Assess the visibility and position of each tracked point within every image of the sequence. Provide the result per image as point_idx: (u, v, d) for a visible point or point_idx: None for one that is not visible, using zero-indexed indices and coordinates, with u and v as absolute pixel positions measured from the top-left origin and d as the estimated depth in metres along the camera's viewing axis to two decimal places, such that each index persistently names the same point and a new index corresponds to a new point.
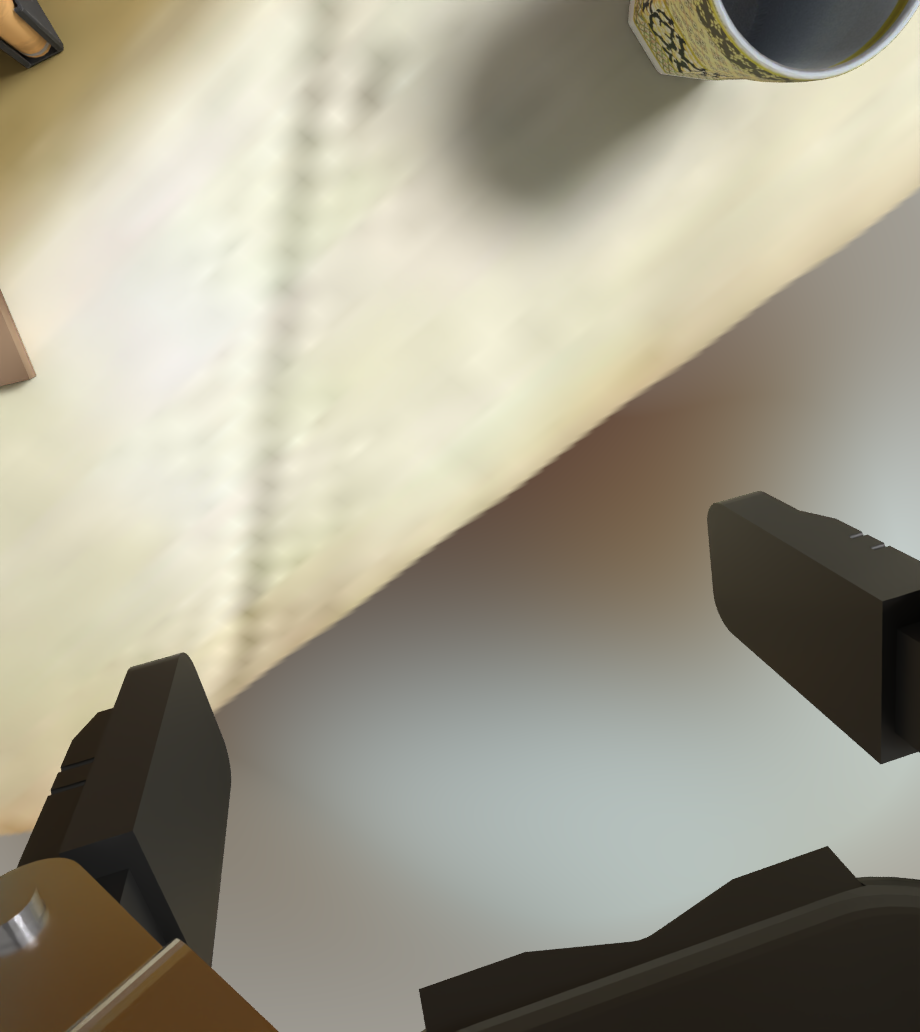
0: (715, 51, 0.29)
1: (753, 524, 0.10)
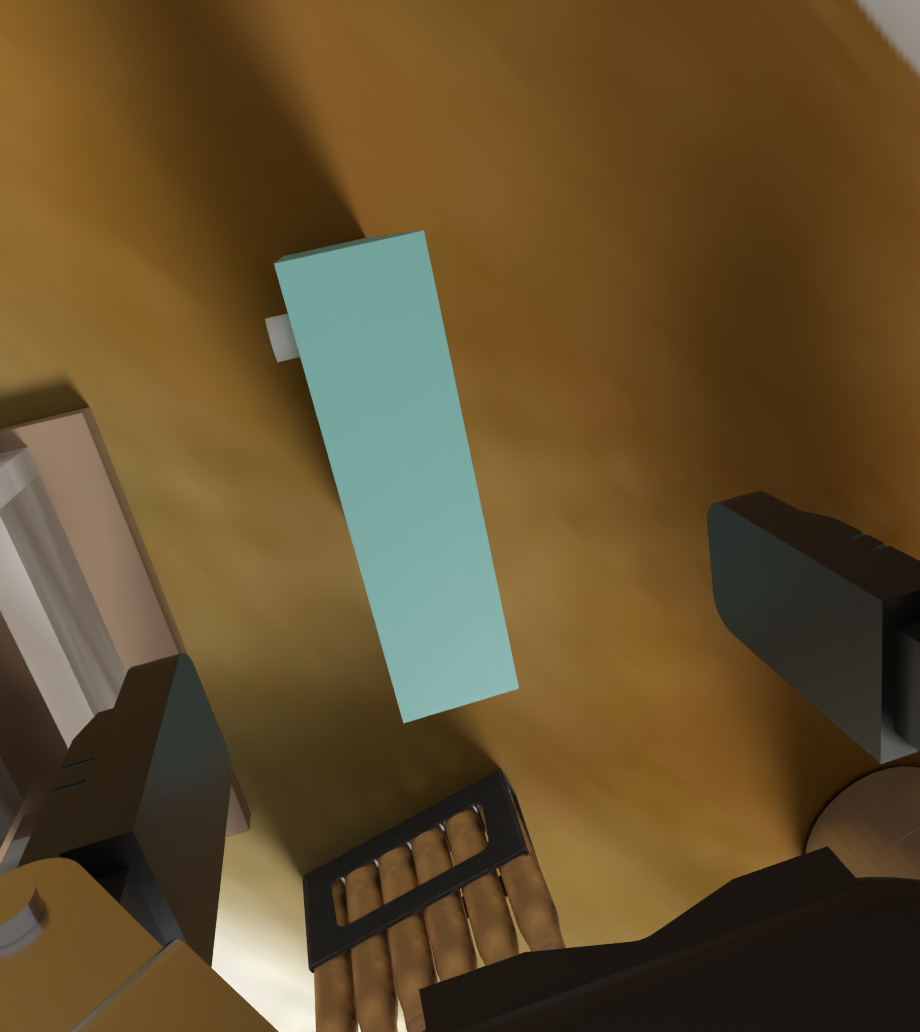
0: None
1: (753, 524, 0.10)
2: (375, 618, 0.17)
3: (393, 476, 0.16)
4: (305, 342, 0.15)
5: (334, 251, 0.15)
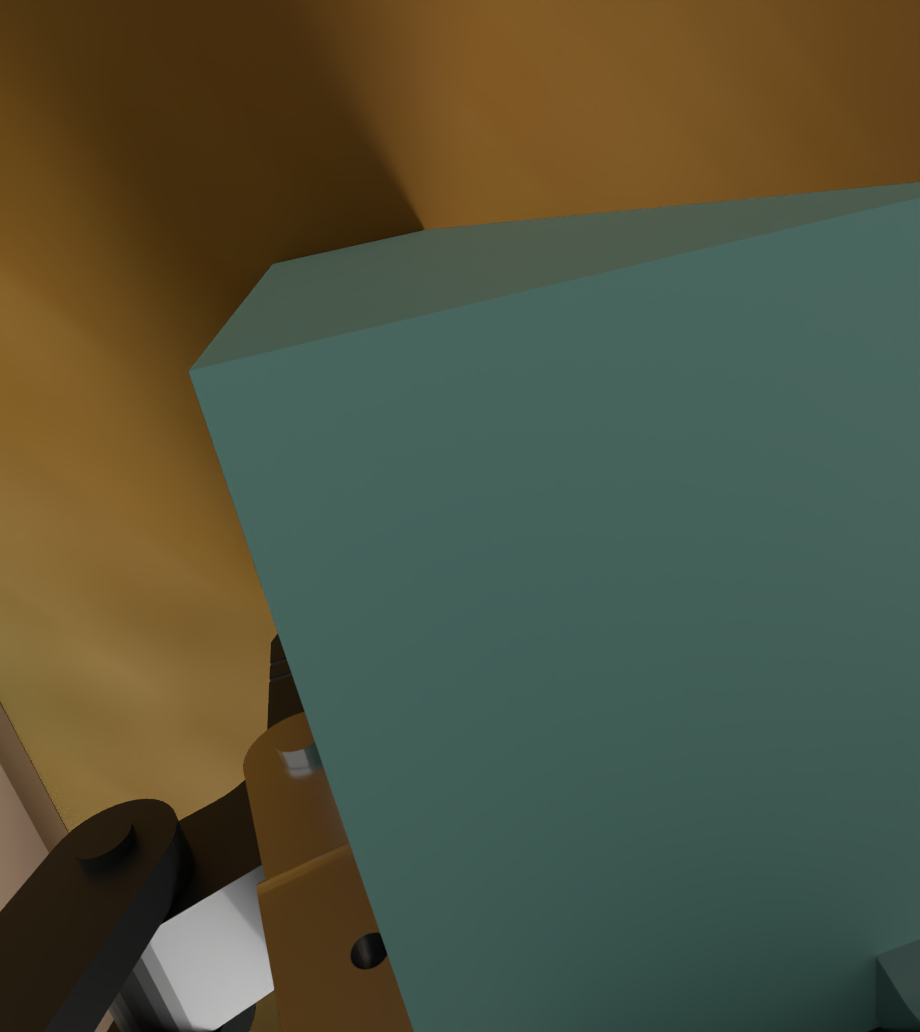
0: None
1: None
2: None
3: None
4: (369, 755, 0.03)
5: (552, 291, 0.02)
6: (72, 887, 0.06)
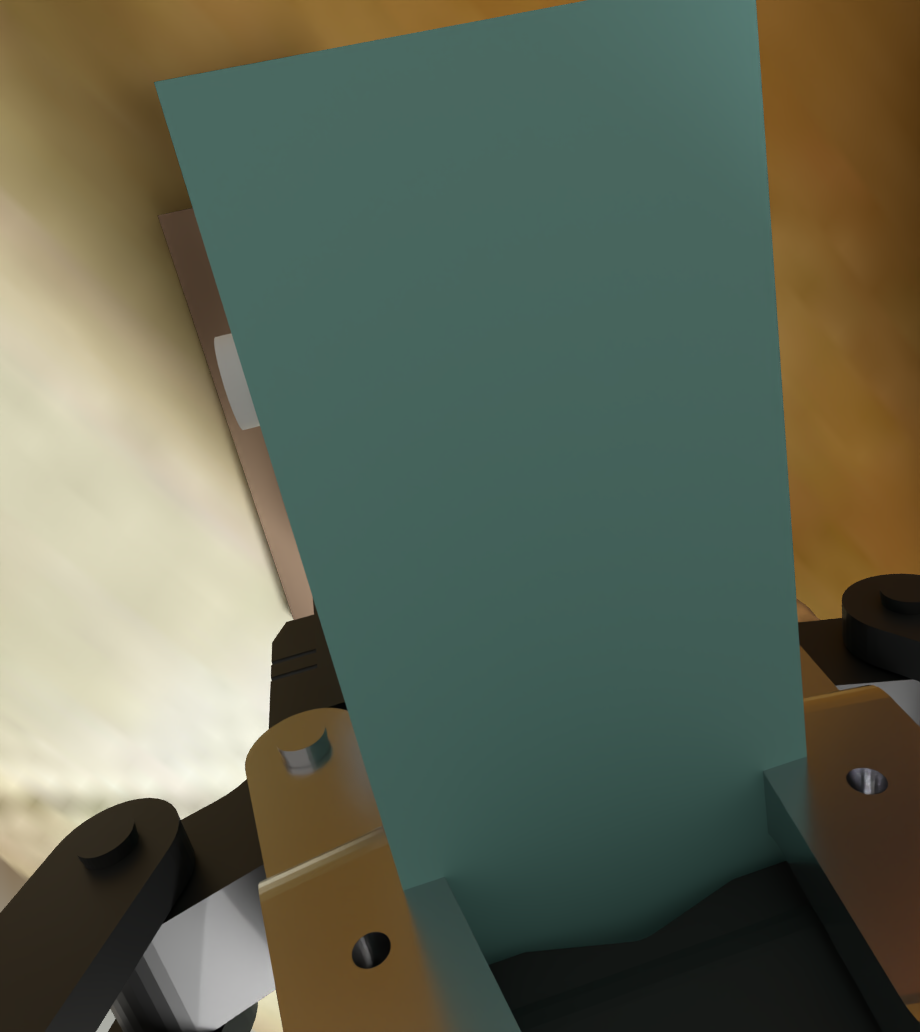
0: None
1: None
2: None
3: (573, 818, 0.05)
4: (289, 407, 0.04)
5: (407, 39, 0.04)
6: (74, 886, 0.06)
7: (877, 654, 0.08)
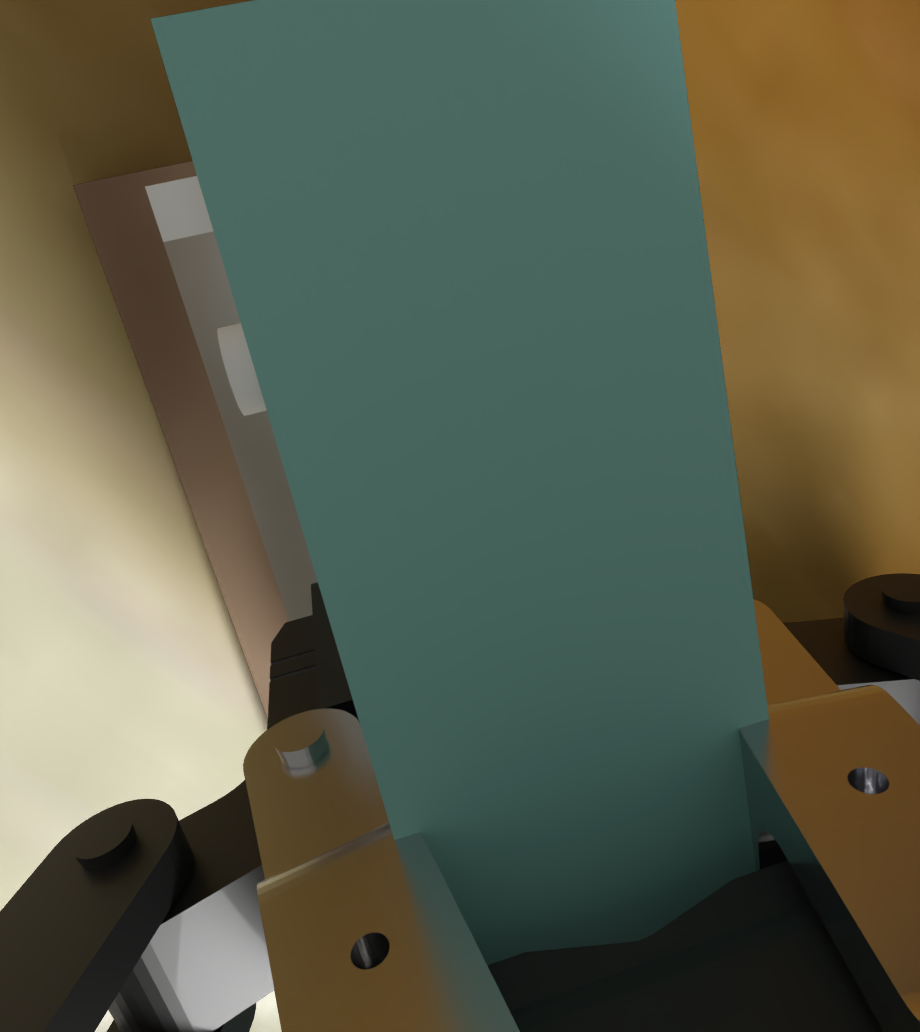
0: None
1: None
2: None
3: (539, 717, 0.05)
4: (268, 306, 0.04)
5: None
6: (72, 887, 0.06)
7: (878, 653, 0.08)
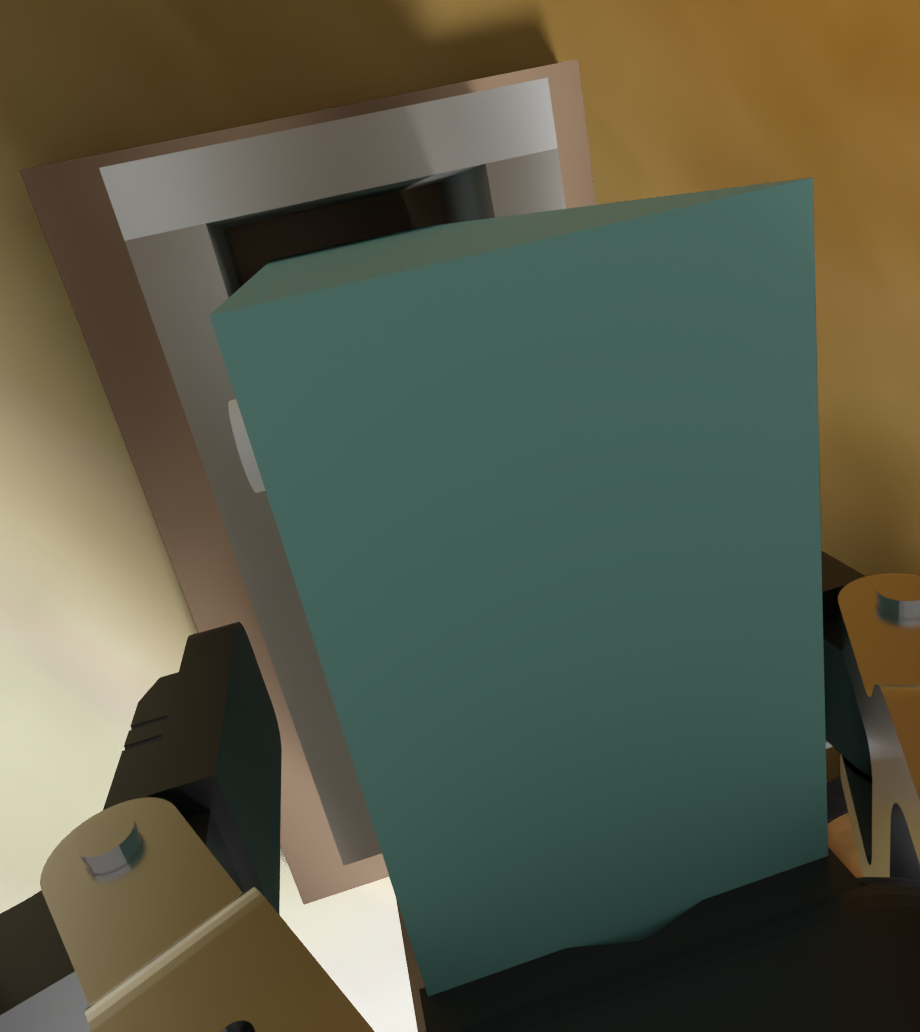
0: None
1: None
2: None
3: None
4: (340, 606, 0.04)
5: (464, 262, 0.04)
6: None
7: None
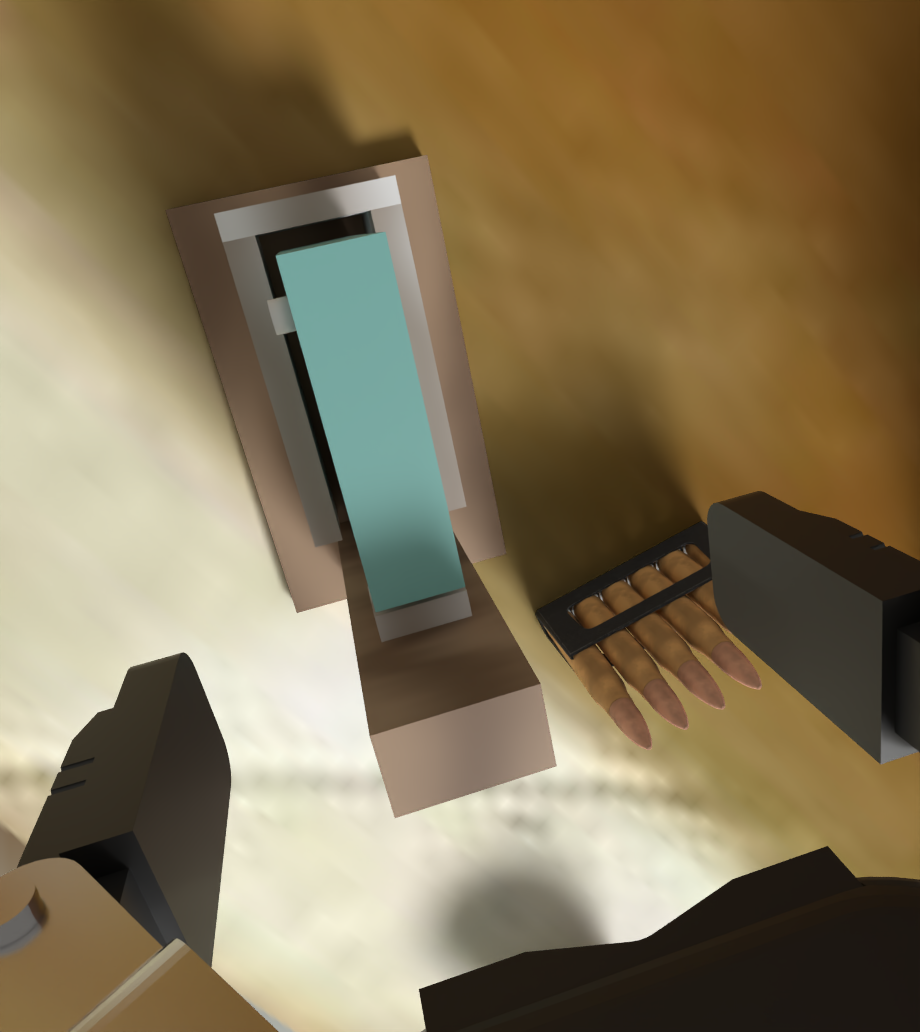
0: None
1: (753, 524, 0.10)
2: (352, 527, 0.23)
3: (365, 415, 0.22)
4: (299, 314, 0.21)
5: (319, 246, 0.20)
6: None
7: None
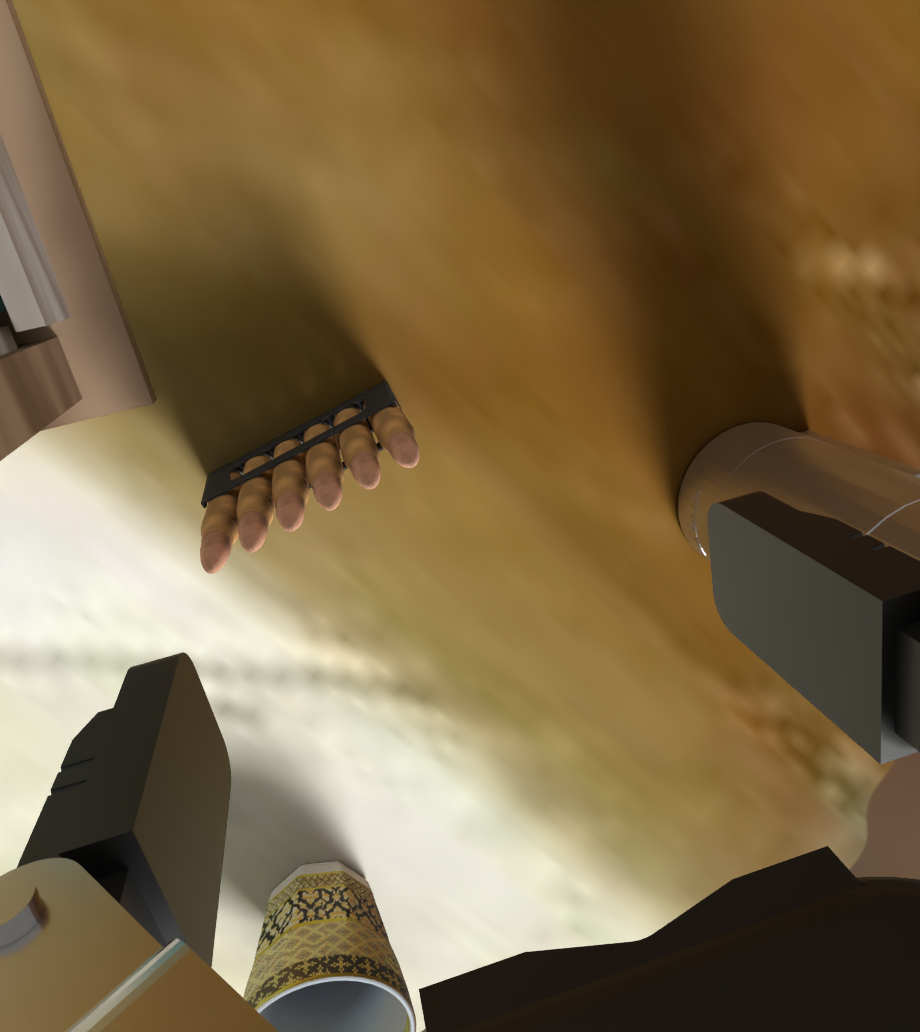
0: (251, 989, 0.41)
1: (753, 524, 0.10)
2: None
3: None
4: None
5: None
6: None
7: None
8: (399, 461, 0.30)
